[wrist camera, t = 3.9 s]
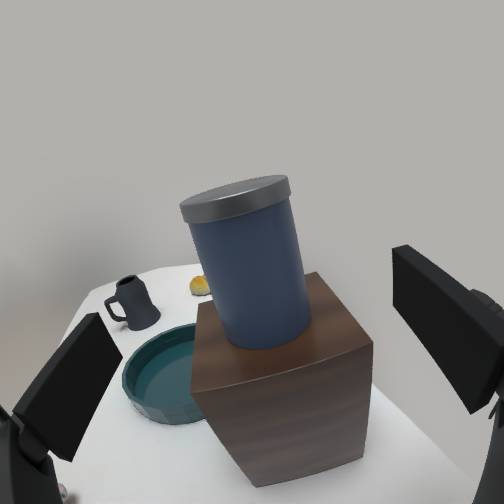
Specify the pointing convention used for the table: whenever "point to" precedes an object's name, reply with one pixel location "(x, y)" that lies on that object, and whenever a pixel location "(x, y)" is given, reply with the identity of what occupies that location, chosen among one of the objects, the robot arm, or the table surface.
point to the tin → (251, 260)
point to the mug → (133, 304)
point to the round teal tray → (163, 377)
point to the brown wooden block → (287, 392)
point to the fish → (63, 492)
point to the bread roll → (199, 286)
